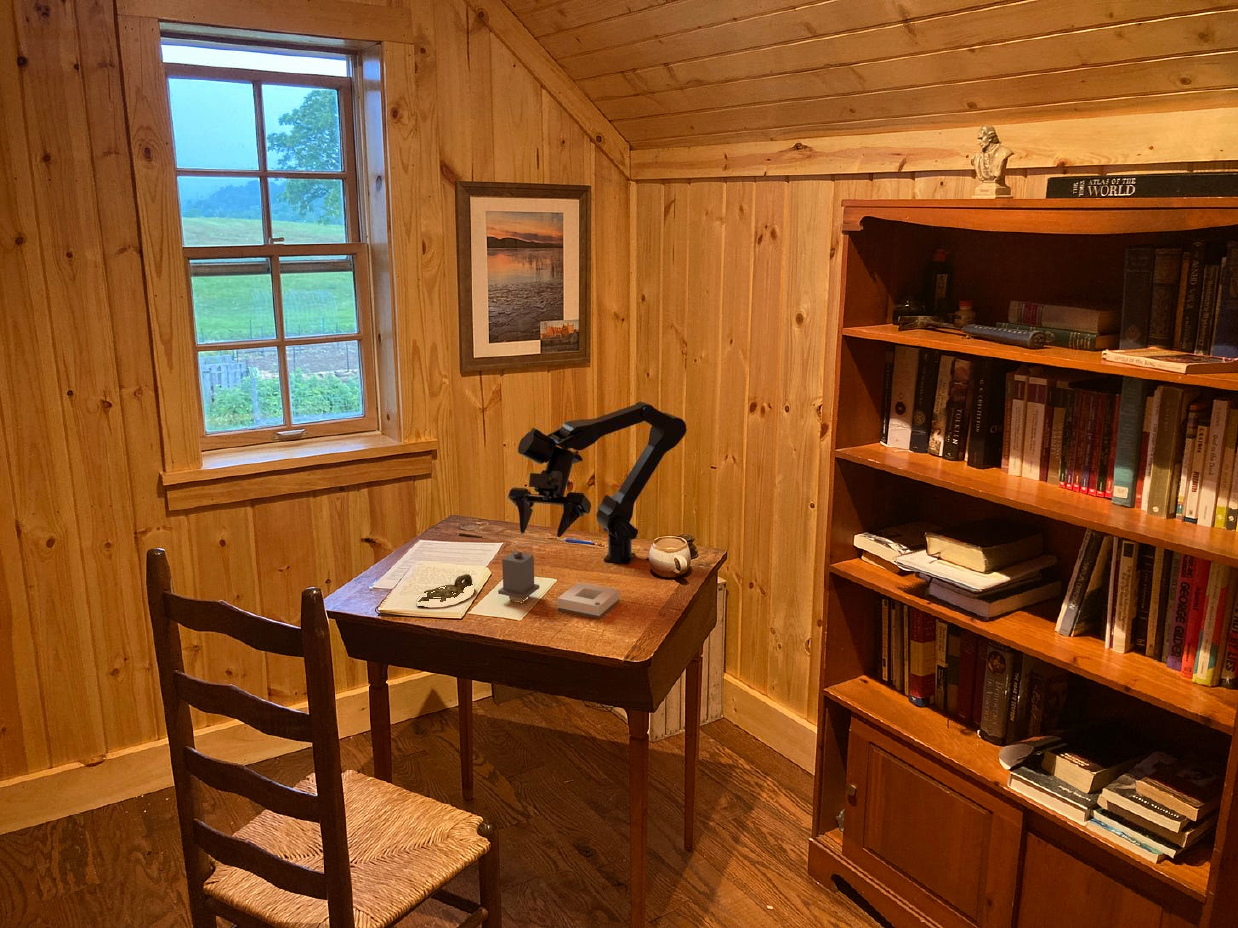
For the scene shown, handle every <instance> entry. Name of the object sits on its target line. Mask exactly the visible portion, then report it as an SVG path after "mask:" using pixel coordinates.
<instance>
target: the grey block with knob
mask: <svg viewBox="0 0 1238 928" xmlns="http://www.w3.org/2000/svg"><path fill="white" fill-rule="evenodd" d="M534 557H535V556H534V554H529V553H524V552H522V551H512V552H511V553H510V554H508V555H506V556H505V557H503V558H501V562H502V587H501V588H499V589H498V590H497V592H498V593H497V594H498V595H503V596H507V597H508V600H509V599H510V600H513V601H517V602H516V603H518V601H519V602H523V600H525V599H526V598H527V597H529V598H530V596H531V595H532V594H534V593H535V592H536V591H538V590H539V589H540V584H538V583H537V584H536V583H535V559H534ZM513 601H512V602H513ZM523 603H524V602H523Z"/></svg>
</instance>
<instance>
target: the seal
mask: <svg viewBox="0 0 1238 928" xmlns="http://www.w3.org/2000/svg"><path fill="white" fill-rule="evenodd" d="M472 583H473V578H472V576H471V575H470V573H469V574H468V573H466V574H462V575H459V576H457V577H456V579H455V580H454V583H453V584H444V585H441V586H438V587H436V588H435V589H434V588H432V589H427V590H424V591H423V592H424V593H426V592H428V593H427V597H422V598H421V599H420V600H419V601H418V602H421V601H429V599H441V600H440V602H443V601H446V598H451V597H454V598H455V597H457V596H458V595H459V594H460V593H464V592H463V590H464V588H465V587H467V586H471V585H473V584H474V583H473V584H472ZM445 586H446V587H445ZM440 587H445V589H443V588H440ZM439 588H440V589H439ZM433 591H435V592H433ZM431 592H433V593H431ZM452 592H453V593H452ZM454 593H456V594H454ZM453 594H454V595H453ZM433 597H441V598H433Z"/></svg>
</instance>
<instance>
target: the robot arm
mask: <svg viewBox="0 0 1238 928" xmlns="http://www.w3.org/2000/svg"><path fill="white" fill-rule="evenodd" d="M644 422H645V423H647V424H648V425H650V426H651V427H650V430H649V434H648V435H649V436H648V442H647V444H646V446H645V447H644V449H643V451H642V452H641V454H640V456H639V457H638V459H637V460H636V462H635V463H634V465H633V467H632V468H631V470H630V472H629V473H628V475H627V477H626V478H625V480H624V481H623V483H622V485H621V486H620V488H619V490H618V491H617V492H615V493H614V494H613V495H611V496H610V495H609V494H605V496H603V499H602V502H601V503H600V505H598V506H596V508H597V509H598V510H597V511H596V521H597V523H598V524H599V526H601V527H602V529H603V531H604V532H606V533H608V535H607V536H608V537H607V541H608V542H607V543H608V544H607V553H608V554H607V555H606V556H605V557H603V561H604V562H606V563H607V562H609V563H614V564H615V563H617V564H623V565H630V563H631V562H632V560H634V559H635V557H636V556H637V553H636V552H632V541H633V540H634V539H637V537H638V533H639V530H638V529H637V527H635V525H633V524H632V523H631V521H632V518H633V517H634V516H633V514H634V507H635V503H636V501H637V500H638V498H639V496H640V495H641V493H642V491H643V489H644V488H645V487H646V485H647V484H648V481H650V479H651V477H652V475H653V474H654V472H655V470H656V469H657V468H658V465H659V464H660V463H661V461H662V459H663V458H664V456H665V455H666V453H668V452H669V451H671V450H672V449H674V448H675V447H677V446H678V444H679V443H680V442H681V441H682V439H683V438H684V437H685V436H686V434H687V430H688V429H687V424H686V422H685V420H684V419H682V418H680V417H678V416H676V415H673V414H671V413H669V412H662V411H660V410H659V409H657V408H655V407H654V406H653V405H651V404H649V403H647V402H644V401H638V402H636V403H635V404H633V405H629V406H626V407H624V408H621V409H618V410H616V411H612V412H609V413H607V414H603V415H601V416H598V417H595V418H588V419H585V418H584V419H583V418H582V419H574V420H568V421H566V422H564V423H562V425H561V426H560V428H558V429H556V430H554V431H553V432H551V433H549V434H544V433H543V432H542V431H540V430H539V429H537V428H536V427H532V428H531V429H530V431H529V432H527V433H525V434H524V435H523V437H521V439H520V441H519V443H518V447H517V453H518V454H519V455H521V456H523V457H525V458H527V459H529V460H531V461H532V462H534V463H536V464H539V465H543V464H544V463H545V464H546V467H545V469H544V470H542V471H541V472H540V473H536V472H530V473H529V479H528V488H533V489H534V491H535V492H536V493H538V494H536V493H535V494H534V493H531V491H530V490H529V489H528V488H526V487H525V488H524V487H512V488H511V489H510V490H509V492H508V495H507V499H509V501H511V502H512V503H513V504H514V505H515V506H516V507H517V510H518V515H519V516H518V517H519V530H520V531H519V532H520V533H521V534H522V535H524V534H525V532H526V530H527V528H528V525H529V522H530V520H531V517H532V515H533V511H534V510H533V506H534V505H535V504H543V505H544V504H546V505H556V506H563V507H562V509H563V510H562V514H561V518H560V522H559V525H558V528H557V531H556V532H557V533H556V537H558V538H561V537H562V536H563V535H564V534H565V532H566V531H567V530H568V529H569V528H570V527H571V525H572V524H573V523H574V522H575V521H576V520H577V521H578V519H579V518H580V517H584V514H586V515H588V514H590V512H591V509H592V503H591V501H590V500H589V499H588V497H587V496H586V495H585V494H584V492H573V491H568V493H567V494H566V495H565V493H566V490H567V487H570V485H571V481H569V478H570V476H571V471H572V469H573V465H574V464H578V463H580V462H583V460H584V459H583V457H582V456H581V455H580V453H579V451H583V450H585V449H587V448H589V447H590V446H592V445H594V444H595V443H596V442H598V440H599V439H601V438H602V437H604V436H607V435H610V434H612V433H615V432H618V431H621V430H624V429H626V428H630V427H631V426H635V425H638V424H640V423H644ZM570 449H572V450H574V451H572V450H570Z"/></svg>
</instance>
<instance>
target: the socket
mask: <svg viewBox="0 0 1238 928" xmlns="http://www.w3.org/2000/svg"><path fill="white" fill-rule="evenodd" d="M556 600H557V611H558V612H562V613H565V614H570V615H571V614H572V615H576V616H581V617H584V618H585V617H586V618H591V619H595V620H600V619H602V618H603V616H605V615H606V614H607V613H609V612H610V611H611V610H612V609H613V608H614V607H615V606H617V605H618V604H619V603H620V589H619V588H614V587H610V586H604V585H603V586H602V585H599V584H592V583H588V582H582V581H578V582H576V583H575V584H574V585H573V586H571V587H570V588H569V589H568V590H566V591H565V592H564V593H562V594H561V595H560V596H558V597H557V599H556Z"/></svg>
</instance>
